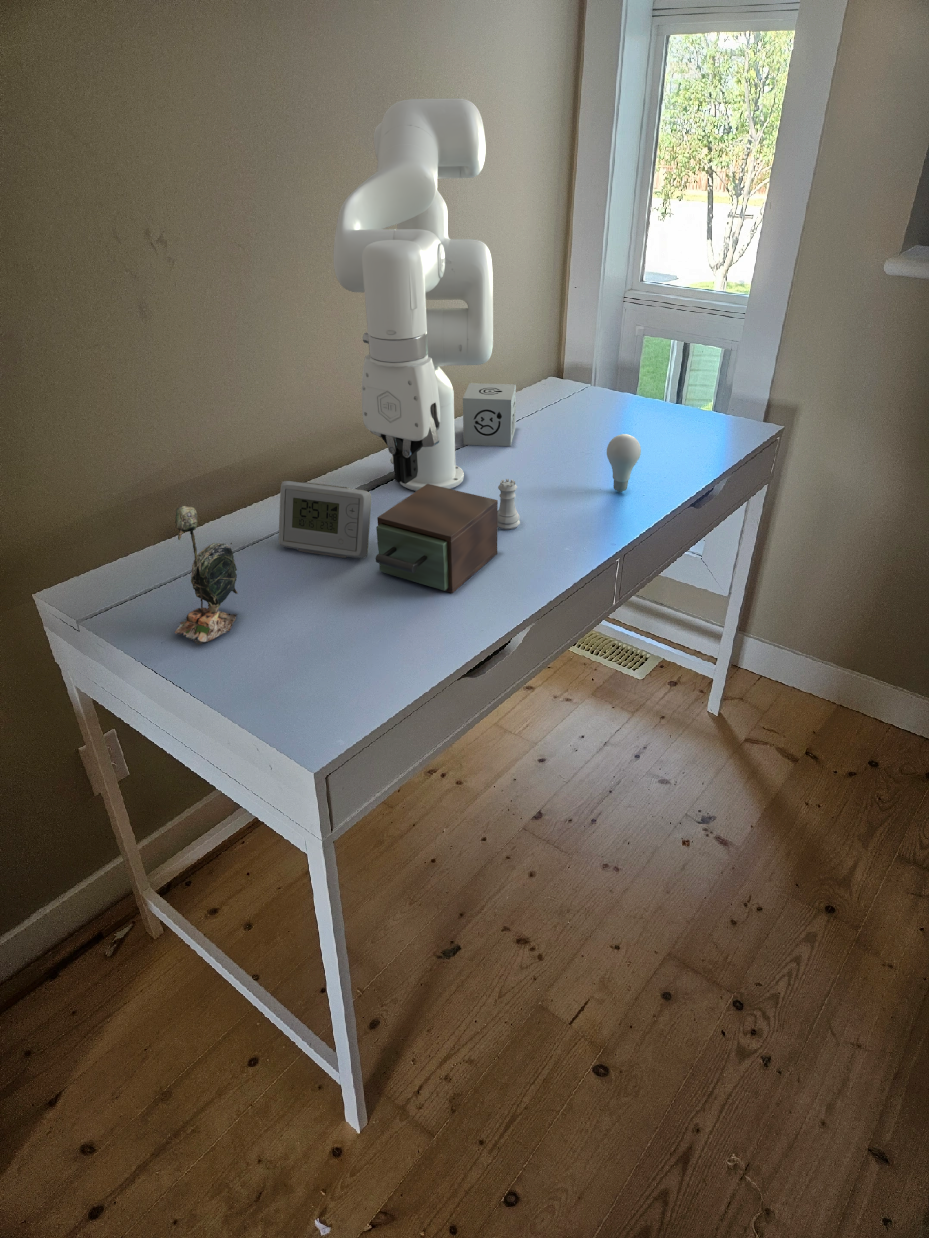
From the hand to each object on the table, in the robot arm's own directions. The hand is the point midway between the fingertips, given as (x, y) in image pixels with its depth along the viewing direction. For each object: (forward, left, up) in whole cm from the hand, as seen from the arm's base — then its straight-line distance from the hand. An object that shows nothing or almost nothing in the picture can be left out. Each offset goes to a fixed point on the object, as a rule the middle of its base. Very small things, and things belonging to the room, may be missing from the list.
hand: (406, 479), depth 116 cm
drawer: (-1, +5, -17) cm, 18 cm away
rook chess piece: (+2, +26, -18) cm, 32 cm away
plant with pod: (-20, -22, -18) cm, 35 cm away
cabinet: (-1, +9, -18) cm, 20 cm away
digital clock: (-20, +4, -18) cm, 27 cm away
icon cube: (-21, +61, -18) cm, 67 cm away
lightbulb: (+14, +48, -18) cm, 53 cm away
